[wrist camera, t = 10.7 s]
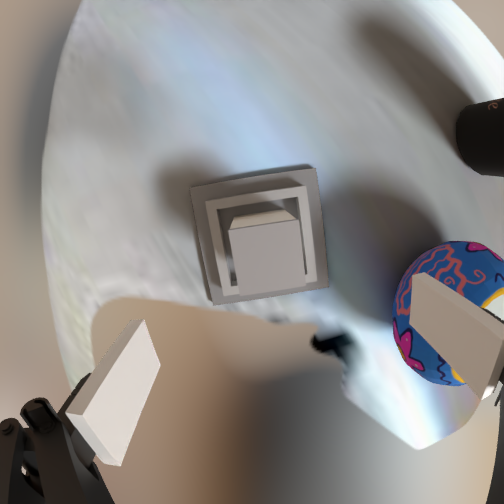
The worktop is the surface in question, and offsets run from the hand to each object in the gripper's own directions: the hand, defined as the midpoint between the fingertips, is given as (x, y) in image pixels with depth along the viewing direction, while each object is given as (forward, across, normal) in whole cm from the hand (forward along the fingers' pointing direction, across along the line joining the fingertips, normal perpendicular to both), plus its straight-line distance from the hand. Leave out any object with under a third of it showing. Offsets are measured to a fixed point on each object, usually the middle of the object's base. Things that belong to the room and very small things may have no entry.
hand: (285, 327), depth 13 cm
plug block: (+20, 0, 0) cm, 20 cm away
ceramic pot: (+21, +22, -11) cm, 32 cm away
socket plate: (+21, 0, 0) cm, 21 cm away
